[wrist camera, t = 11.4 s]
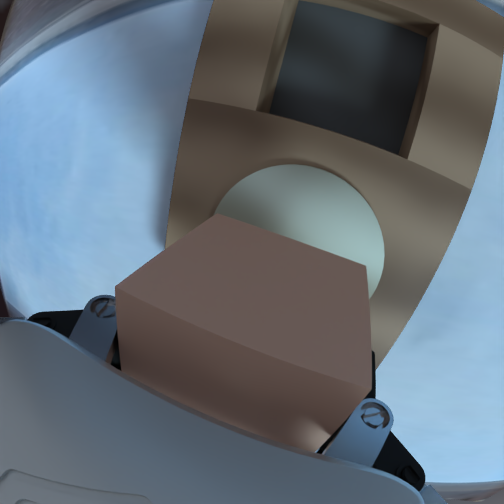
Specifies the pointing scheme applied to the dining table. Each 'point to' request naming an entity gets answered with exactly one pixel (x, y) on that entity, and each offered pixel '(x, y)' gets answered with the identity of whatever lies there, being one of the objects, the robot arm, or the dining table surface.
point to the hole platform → (343, 132)
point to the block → (250, 330)
